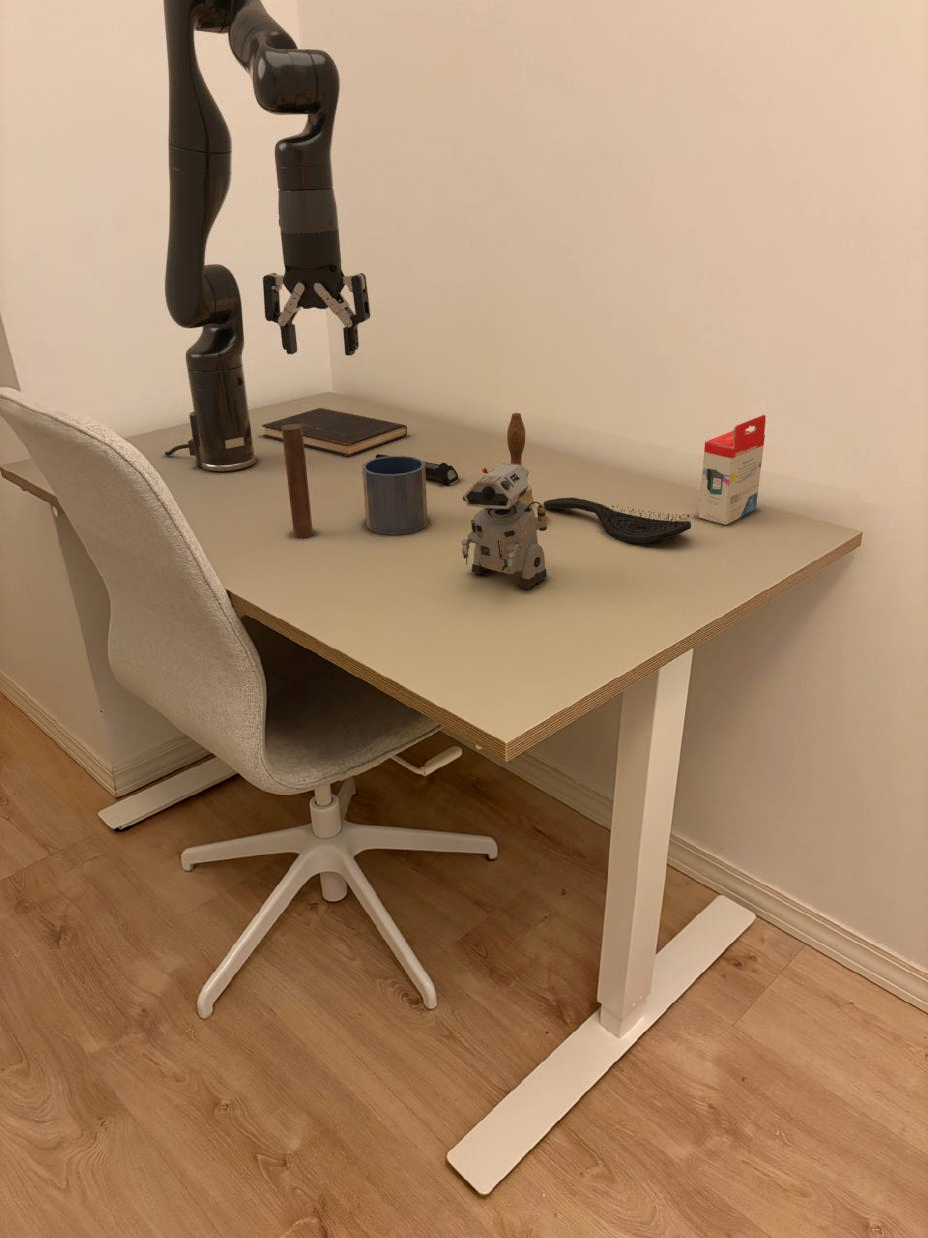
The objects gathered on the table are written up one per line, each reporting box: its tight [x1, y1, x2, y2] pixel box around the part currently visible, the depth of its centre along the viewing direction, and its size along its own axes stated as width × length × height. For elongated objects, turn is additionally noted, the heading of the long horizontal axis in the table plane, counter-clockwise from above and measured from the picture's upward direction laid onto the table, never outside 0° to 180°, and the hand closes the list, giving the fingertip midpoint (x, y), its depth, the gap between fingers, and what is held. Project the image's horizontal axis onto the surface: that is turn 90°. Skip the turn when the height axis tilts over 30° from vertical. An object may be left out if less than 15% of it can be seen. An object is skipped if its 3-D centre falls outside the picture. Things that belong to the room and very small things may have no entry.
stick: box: [282, 424, 314, 539], centre depth 137 cm, size 3×3×16 cm
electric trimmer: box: [375, 453, 459, 486], centre depth 163 cm, size 4×16×3 cm, turn 58°
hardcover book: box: [261, 407, 408, 458], centre depth 185 cm, size 16×23×2 cm
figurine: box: [460, 463, 548, 590], centre depth 121 cm, size 9×12×15 cm
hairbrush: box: [543, 497, 692, 544], centre depth 141 cm, size 8×4×25 cm
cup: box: [361, 455, 428, 536], centre depth 142 cm, size 9×9×9 cm
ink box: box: [698, 414, 767, 526], centre depth 141 cm, size 8×5×15 cm, turn 134°
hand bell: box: [506, 412, 538, 517], centre depth 140 cm, size 8×8×16 cm
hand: (320, 353), depth 133 cm, fingers open, 8 cm apart
